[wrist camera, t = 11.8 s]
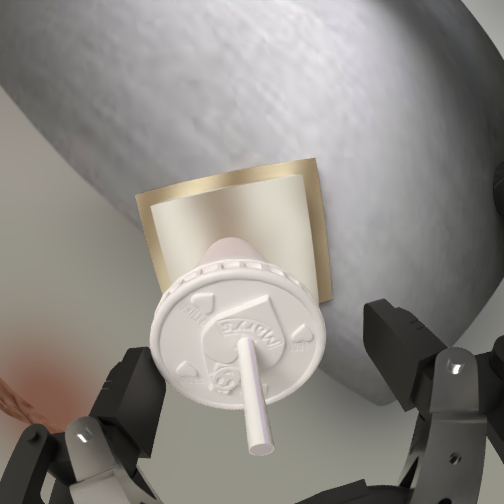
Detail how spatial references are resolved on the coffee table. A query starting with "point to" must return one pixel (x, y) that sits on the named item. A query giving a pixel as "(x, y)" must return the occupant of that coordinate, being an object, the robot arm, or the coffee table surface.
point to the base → (235, 177)
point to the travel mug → (499, 188)
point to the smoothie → (238, 335)
